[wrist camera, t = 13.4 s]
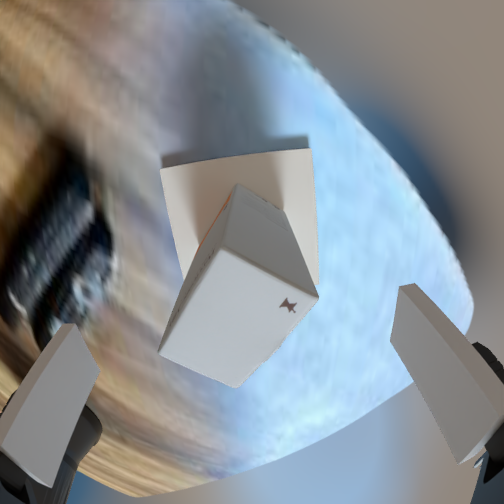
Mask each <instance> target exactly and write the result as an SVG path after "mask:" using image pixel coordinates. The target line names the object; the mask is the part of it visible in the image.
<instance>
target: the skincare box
mask: <svg viewBox="0 0 504 504" xmlns="http://www.w3.org/2000/svg"><path fill="white" fill-rule="evenodd" d="M318 299H319V296H318V293H317V291H316V288H315V286H314V283H313V281H312V278H311V275H310V273H309V270H308V268H307V265H306V263H305V260H304V258H303V255H302V253H301V250H300V248H299V245H298V242H297V240H296V238H295V235H294V233H293V230H292V228H291V226H290V223H289V221H288V218H287V216H286V214H285V212H284V211H283V210H281V209H280V208H278V207H277V206H275V205H273V204H272V203H270V202H269V201H267V200H266V199H264V198H262V197H261V196H259V195H257V194H255V193H254V192H252V191H250V190H249V189H247V188H245V187H244V186H242V185H241V184H239V183H237V184H236V185H235V186H234V188H233V190H232V192H231V193H230V195H229V197H228V198H227V200H226V202H225V203H224V205H223V207H222V208H221V210H220V212H219V213H218V215H217V217H216V218H215V220H214V222H213V224H212V225H211V227H210V229H209V230H208V232H207V233H206V235H205V237H204V238H203V240H202V241H201V243H200V245H199V247H198V249H197V251H196V254H195V256H194V258H193V261H192V263H191V266H190V268H189V270H188V273H187V275H186V278H185V280H184V283H183V285H182V288H181V290H180V293H179V295H178V298H177V300H176V303H175V306H174V308H173V311H172V314H171V316H170V319H169V321H168V324H167V327H166V330H165V332H164V335H163V338H162V341H161V343H160V346H159V349H158V354H159V355H161V356H163V357H165V358H167V359H169V360H171V361H173V362H175V363H177V364H180V365H182V366H184V367H186V368H189V369H191V370H193V371H195V372H198V373H200V374H202V375H205V376H207V377H209V378H212V379H214V380H216V381H219V382H221V383H223V384H226V385H228V386H230V387H233V388H238V387H240V386H241V385H242V384H243V383H244V382H245V381H246V380H247V379H248V378H249V377H250V376H251V375H252V374H253V373H254V372H255V371H256V369H257V368H258V367H259V366H260V365H261V364H262V363H264V362H265V361H267V360H268V359H269V358H270V357H271V356H272V355H273V354H274V353H275V352H276V351H277V350H278V349H279V347H280V346H281V345H282V343H283V341H284V340H285V339H286V338H287V336H288V335H289V334H290V333H291V332H292V331H293V330H294V328H295V327H296V326H297V325H298V324H299V322H300V321H301V320H302V319H303V318H304V317H305V316H306V314H307V313H308V312H309V311H310V310H311V308H312V307H313V306H314V305H315V304H316V302H317V301H318Z"/></svg>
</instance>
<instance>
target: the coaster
mask: <svg viewBox="0 0 504 504" xmlns="http://www.w3.org/2000/svg"><path fill="white" fill-rule="evenodd" d="M160 174H161V179H162V185H163V190H164V195H165V200H166V205H167V210H168V214H169V219H170V224H171V228H172V233H173V237H174V241H175V246H176V250H177V254H178V258H179V262H180V266H181V270H182V274H183V278H184V280H185V278H186V275H187V273H188V270H189V268H190V266H191V263H192V261H193V258H194V256H195V254H196V251H197V249H198V247H199V245H200V243H201V241H202V240H203V238H204V237H205V235H206V233H207V232H208V230H209V229H210V227H211V225H212V224H213V222H214V220H215V218H216V217H217V215H218V213H219V212H220V210H221V208H222V207H223V205H224V203H225V202H226V200H227V198H228V197H229V195H230V193H231V192H232V190H233V188H234V186H235V185H236V184H237V183H239V184H241V185H242V186H244V187H245V188H247V189H249V190H250V191H252V192H254V193H255V194H257V195H259V196H261V197H262V198H264V199H266V200H267V201H269V202H270V203H272V204H273V205H275V206H277V207H278V208H280V209H281V210H283V211H284V212H285V214H286V216H287V218H288V221H289V223H290V226H291V228H292V230H293V233H294V235H295V238H296V240H297V242H298V245H299V248H300V250H301V253H302V255H303V258H304V260H305V263H306V265H307V268H308V270H309V273H310V275H311V278H312V281H313V283H314V285H318V284H319V258H318V233H317V214H316V198H315V185H314V172H313V161H312V150H311V148H300V149H289V150H278V151H269V152H260V153H252V154H244V155H236V156H229V157H222V158H216V159H209V160H203V161H197V162H192V163H186V164H181V165H175V166H170V167H165V168H162V169H160Z"/></svg>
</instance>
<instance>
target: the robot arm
mask: <svg viewBox="0 0 504 504" xmlns="http://www.w3.org/2000/svg"><path fill="white" fill-rule="evenodd" d="M390 342H391V343H392V345H393V347H394V348H395V350H396V352H397V353H398V355H399V357H400V358H401V360H402V362H403V363H404V365H405V367H406V368H407V370H408V372H409V373H410V375H411V377H412V379H413V380H414V382H415V384H416V386H417V387H418V389H419V391H420V392H421V394H422V396H423V398H424V400H425V401H426V403H427V405H428V407H429V409H430V411H431V412H432V414H433V416H434V418H435V420H436V422H437V424H438V426H439V427H440V430H441V432H442V433H443V435H444V437H445V439H446V441H447V443H448V445H449V447H450V449H451V451H452V454H453V455H454V458H455V460H456V462H457V464H458V465H459V464H461V463H463V462H464V461H466V460H468V459H470V458H472V457H473V456H475V455H476V454H477V453H478V452H479V451H480V450H481V448H483V447H484V446H485V448H486V450H487V451H486V452H485V453H484V454H483V455H482V456H481V457H480V458H479V459H478V460H477V461H476V463H475V465H474V468H476V467H477V466H478V465H479V464H480V463H481V462H482V465H481V467H480V469H481V470H480V474H479V477H478V481H477V484H476V488H475V491H474V494H473V497H472V500H471V503H470V504H504V369H503V365H502V364H501V363H500V362H499V361H497V358H496V357H495V356H494V355H493V354H492V352H491V351H490V350H489V349H488V348H486V347H485V346H483V345H482V344H480V343H478V342H476V343H474V344H471V343H470V342H469V341H468V340H467V339H466V337H465V336H464V335H463V334H462V333H461V332H460V331H459V329H458V328H457V327H456V326H455V325H454V324H453V323H452V322H451V321H450V319H449V318H448V317H447V316H446V315H445V314H444V313H443V312H442V311H441V310H440V309H439V307H438V306H437V305H436V304H435V303H434V302H433V301H432V300H431V299H430V298H429V297H428V296H427V295H426V294H425V293H424V292H423V291H422V290H421V289H420V288H419V287H418V286H417V285H416V284H415V283H413V284H409V285H404V286H399V290H398V297H397V304H396V310H395V317H394V322H393V328H392V333H391V338H390ZM99 372H100V369H99V367H98V366H97V364H96V362H95V360H94V359H93V357H92V355H91V353H90V351H89V349H88V347H87V346H86V344H85V342H84V340H83V338H82V336H81V334H80V332H79V330H78V328H77V326H76V324H62V326H61V327H60V328H59V330H58V331H57V332H56V334H55V335H54V336H53V338H52V339H51V341H50V342H49V343H48V345H47V346H46V347H45V349H44V350H43V352H42V353H41V355H40V356H39V357H38V359H37V360H36V362H35V363H34V365H33V366H32V368H31V369H30V371H29V372H28V374H27V375H26V377H25V378H24V380H23V381H22V383H21V384H20V386H19V388H18V389H17V390H16V391H15V392H14V393H13V394H12V395H11V397H10V398H9V400H8V402H7V403H6V404H7V405H5V407H4V408H3V410H2V413H0V504H66V503H67V499H68V496H69V492H70V489H71V486H72V483H73V479H74V476H75V473H76V470H77V468H78V465H79V463H80V461H81V460H82V459H83V458H84V457H85V455H86V454H87V453H88V452H89V450H90V449H91V448H92V446H95V445H96V444H97V443H98V441H99V439H100V436H101V433H102V426H101V423H100V422H99V420H98V419H97V417H96V416H95V415H94V414H93V413H92V412H91V411H90V410H89V409H88V408H87V407H86V406H85V403H86V400H87V398H88V396H89V394H90V392H91V389H92V387H93V385H94V383H95V381H96V379H97V377H98V375H99Z"/></svg>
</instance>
